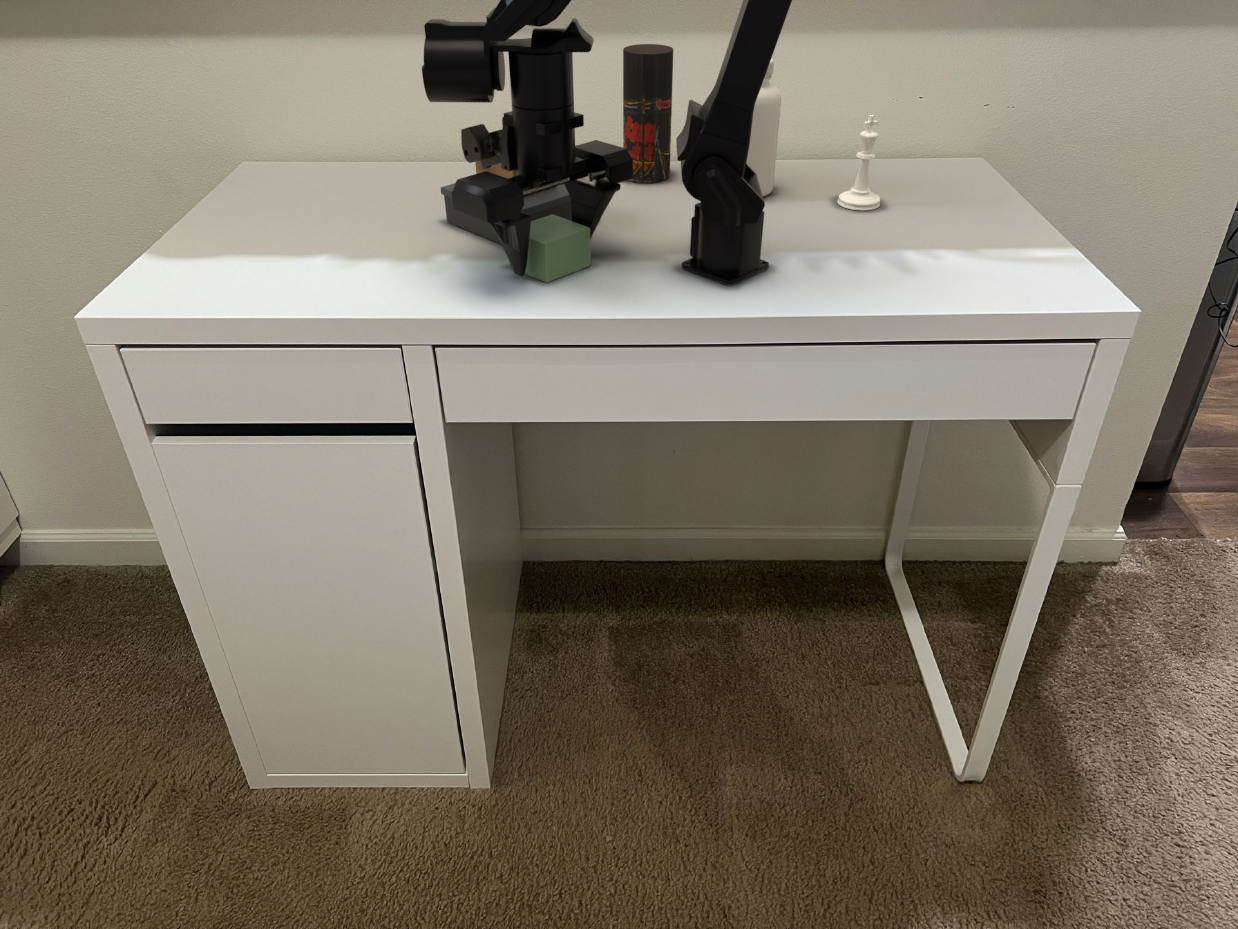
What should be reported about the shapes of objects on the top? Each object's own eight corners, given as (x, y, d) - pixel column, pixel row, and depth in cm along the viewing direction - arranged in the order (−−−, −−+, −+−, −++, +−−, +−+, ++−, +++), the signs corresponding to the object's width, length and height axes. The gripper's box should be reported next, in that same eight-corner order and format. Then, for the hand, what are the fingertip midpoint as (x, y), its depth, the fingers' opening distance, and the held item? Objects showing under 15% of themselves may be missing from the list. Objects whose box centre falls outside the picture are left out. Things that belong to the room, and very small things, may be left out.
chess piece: (888, 207, 107) (903, 118, 102) (852, 213, 106) (865, 123, 100) (864, 194, 111) (877, 108, 105) (829, 199, 110) (840, 112, 104)
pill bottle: (771, 180, 115) (783, 52, 107) (774, 202, 109) (787, 67, 100) (708, 178, 116) (715, 50, 107) (707, 200, 110) (714, 65, 101)
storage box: (594, 221, 104) (593, 186, 101) (512, 250, 97) (509, 213, 94) (525, 196, 111) (523, 163, 108) (444, 222, 104) (440, 187, 101)
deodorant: (617, 171, 119) (616, 45, 110) (660, 166, 120) (663, 42, 112) (631, 185, 114) (632, 55, 105) (676, 180, 116) (680, 52, 107)
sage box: (591, 265, 93) (590, 227, 91) (546, 283, 90) (544, 243, 88) (554, 251, 97) (552, 213, 94) (510, 267, 93) (507, 229, 91)
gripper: (559, 72, 94) (564, 220, 103) (406, 105, 83) (427, 267, 92) (637, 90, 88) (636, 246, 97) (483, 129, 77) (498, 300, 86)
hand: (550, 263), depth 93 cm, fingers open, 8 cm apart
